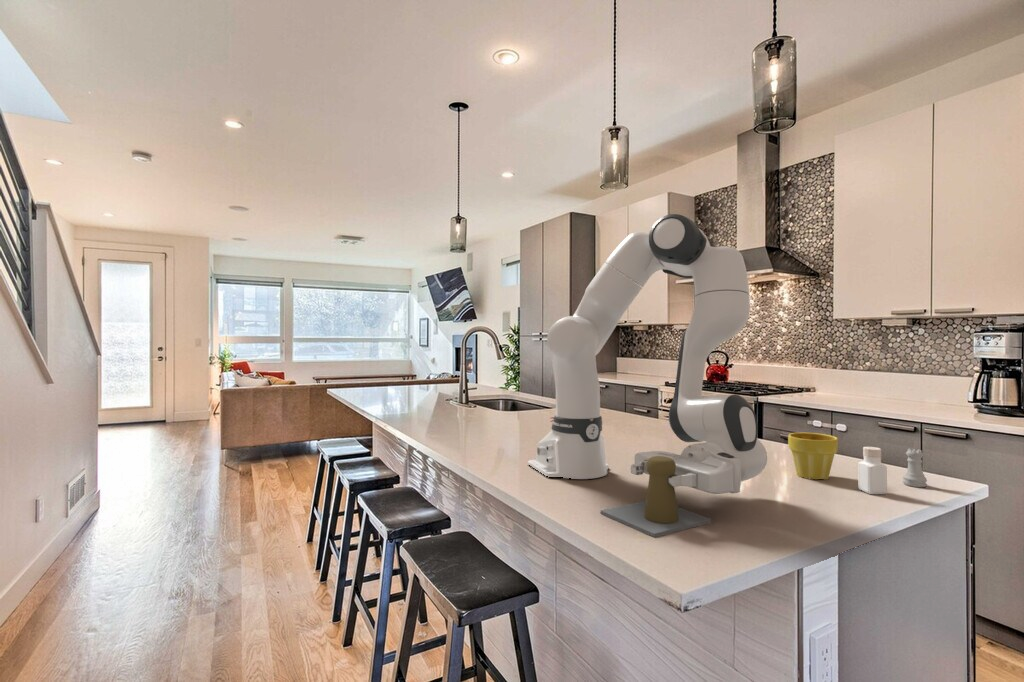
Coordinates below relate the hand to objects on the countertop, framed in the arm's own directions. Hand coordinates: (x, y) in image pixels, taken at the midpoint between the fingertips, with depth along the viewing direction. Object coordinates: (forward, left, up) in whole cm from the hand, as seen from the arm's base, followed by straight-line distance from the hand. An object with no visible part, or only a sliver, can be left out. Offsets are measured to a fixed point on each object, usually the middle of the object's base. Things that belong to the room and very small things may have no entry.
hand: (650, 475), depth 95 cm
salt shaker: (+12, +53, -8) cm, 55 cm away
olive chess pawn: (+2, 0, -7) cm, 8 cm away
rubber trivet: (0, +1, -8) cm, 8 cm away
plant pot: (-2, +55, -8) cm, 55 cm away
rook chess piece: (+14, +67, -8) cm, 69 cm away
